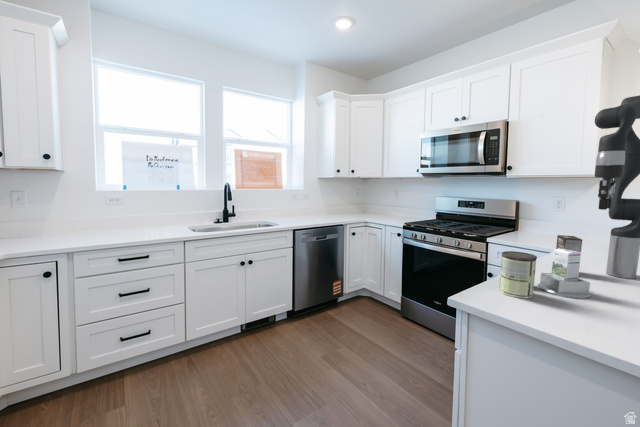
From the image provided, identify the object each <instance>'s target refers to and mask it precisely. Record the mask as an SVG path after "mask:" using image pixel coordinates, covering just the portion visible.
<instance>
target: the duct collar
mask: <svg viewBox="0 0 640 427" xmlns="http://www.w3.org/2000/svg"><path fill="white" fill-rule="evenodd" d="M551 275H552V272H541V273H540V278H539V279H540V280H539V283H538V284H537V287H538V289H540V290H541V291H543V292H544V293H545V292H546V293H548V294H551V295H554V294H555V296H558V295H559V297H563V296H564V297H563V298H568V297H571V299H578V298H585V299H589V298H590V297H591V293H590V287H591V282H590V281H588V280H585V279H582V278H580V277H578V281H560V280H558V279H556V278H554V277H552V276H551ZM588 297H589V298H588Z"/></svg>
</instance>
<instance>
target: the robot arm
mask: <svg viewBox="0 0 640 427" xmlns="http://www.w3.org/2000/svg"><path fill="white" fill-rule="evenodd" d="M637 119H638V120H639V119H640V94H639V95H635V96H629V97H625V98H624V99H622V101H621V103H620V105H618V106H613V107H608V108H603V109H601V110H599V112H597V113H596V115H595V116H594V124H595V126H596V127H597V128H599V129H601V130H605V129H606V130H607V129H617V130H616V131H614V132H613V133H610V134H606V135H603V136H601V137H600V138H599V141H598V149H597V150H598V151H597V155H596V160H595V168H594V177H595V178H598V179H599V178H600V179H602V180H599V184H598V186H599V187H598V195H597V196H598V199H599V201H598V210H603V211H604V210H605V211H606V210H607V209H608V217H609V219H611V220H614V221H615V220H616V221H631V222H630V223H628V224H627V225H623V226H619V227H612V228H611V230H610V235H609V247H608V254H607V261H606V262H607V263H606V269H605V270H606V271H605V274H606V275H609V276H613V277H616V278H617V277H618V278H623V279H632V280H633V279H634V280H635V279H636V278H637V274H638V267H639V265H638V264H639V257H640V198H622V197H623V195H624V192H625V190H626V189H627V187H628V186H629V185H630V184H631V183H632V182H633V181H635V179H636V178H637V177H639V176H640V138H639V137H638V135H637V134H636V132H635V130H634V129H633V125H634V123H635V121H636V120H637Z"/></svg>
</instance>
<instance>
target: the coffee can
mask: <svg viewBox="0 0 640 427" xmlns="http://www.w3.org/2000/svg"><path fill="white" fill-rule="evenodd" d="M537 259H538V256H537V255H536V254H533V253H532V254H531V253H529V252H522V251H516V250H515V251H514V250H512V251H511V250H510V251H509V250H508V251H502V252H501V263H500V264H501V265H500V266H501V268H500V279H499V292H500V293H501V294H503V295H505V296H508V297H512V298H517V299H532V298H534V288H535V276H536V269H537V268H536V266H537Z"/></svg>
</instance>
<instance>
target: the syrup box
mask: <svg viewBox="0 0 640 427" xmlns="http://www.w3.org/2000/svg"><path fill="white" fill-rule="evenodd" d="M581 255H582V251H581V252H576V251H572V250H567V249H556V248H555V249H553V255H552V265H551V266H552V267H551V273H552V275H551V276H552V277H554V278H556V279H558V280H560V281H578V278H579V274H580V264H581Z"/></svg>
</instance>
